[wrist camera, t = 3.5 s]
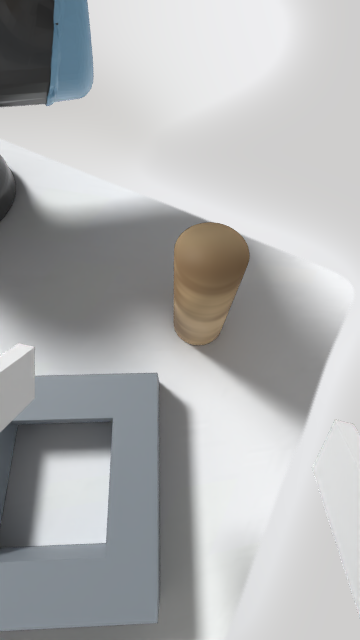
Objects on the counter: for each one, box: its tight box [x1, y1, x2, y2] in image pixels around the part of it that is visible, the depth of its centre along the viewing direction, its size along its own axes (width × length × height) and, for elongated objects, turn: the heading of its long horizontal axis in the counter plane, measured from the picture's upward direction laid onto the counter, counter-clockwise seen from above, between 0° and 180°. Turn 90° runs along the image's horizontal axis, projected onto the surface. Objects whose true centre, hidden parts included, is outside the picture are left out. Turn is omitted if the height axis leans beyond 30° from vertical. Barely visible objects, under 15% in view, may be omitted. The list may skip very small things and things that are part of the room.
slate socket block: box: [0, 373, 160, 631], centre depth 24 cm, size 16×16×4 cm
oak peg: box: [173, 222, 249, 345], centre depth 26 cm, size 5×5×12 cm
